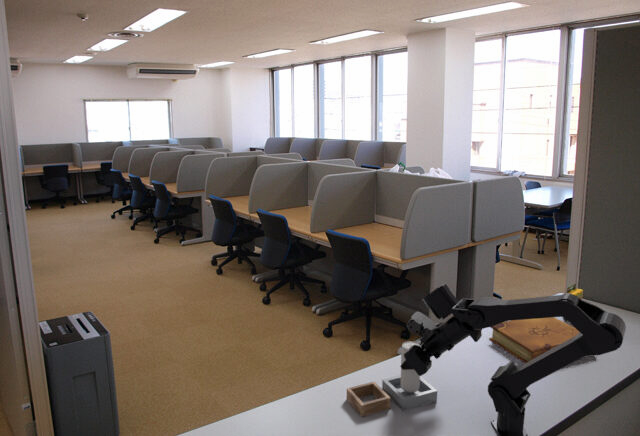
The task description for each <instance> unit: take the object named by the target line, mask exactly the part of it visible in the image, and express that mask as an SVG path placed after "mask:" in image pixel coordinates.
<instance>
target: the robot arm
mask: <svg viewBox="0 0 640 436" xmlns="http://www.w3.org/2000/svg"><path fill="white" fill-rule="evenodd" d="M421 300H422V302H424V304H425V305H426V307H427V308H428V309H429V310H430V311H431V313H432V314H433V315H434V316H435V318H436V319H437V320H440V319H442V320H445V319H446V318H448V317H449V316H451V315H452V316H451V317H449V318H448V319H447V320H445V321H440V322H434V321H433V320H432V319H431V318H430V317H428V316H427V315H425V314H424V313H422V312H420V311H417V310H416V311H415V312H414V313H413V314H412V316H411V317H410V319H409V320H408V321H407V324H406V328H407V329H408V331H409V332H411V333H412V334H413V335H415V336H419V337H420V338H419V341H420V343H419V344H420V346H418V345H413V346H411V347H410V348H409V349H408V350H407V351H406V352H405V353H404V357H405V359H406V360H405V361H404V362H403V364H402V365H401V364H400V366H399V367H400V369H401V368H402V369H403V370H410V369H414V370H415V371H416V373H417V374H418V375H419V376H421V377H422V376H424V375H425V374H426V373H428V371H429V370H430V369H431V367H432V363H433V362H432V361H433V360H432V359H431V358H432V357H434V359H436V360H437V359H439V358H440V357H441V356H442V355H443V354H444V353H445V352H447V351H448V352H450V351H452V350H453V349H454V347H455V346H456V345H457V344H459V343H460V342H462V341H464V340H466V339H467V338H468V337H471V338H472V340H473V341H474V342H475V343H477V342H478V341H480V339H481V338H482V335H483V334H482V331H483V329H487V328H490V327H492V326H495V325H497V324H500V323H502V322H506V321H511V320H524V319H538V318H551V317H555V318H562V319H563V318H565V319H566V320H565V319H564V320H565V321H568V322H569V323H570V324H571V326H572V327H574V328H576V329H577V330H578V331H579V333H578V334H577V335H576V336H574V337H573V338H571V339H569V340H567V341H565V342H563V343H562V344H560V345H558V346H556V347H554V348H552V349H551V350H549V351H547V352H545V353H543V354H542V355H540V356H538V357H536V358H534V359H532V360H531V361H529V362H527V363H523V364H515V363H514V361H513V359H511V360H510V361H509V362H508V363H506V364H505V365H500V366H499V367H498V368H497V369H496V371H495V372H494V373H493V375H492V376H491V378H490V380H491V381H490V382H489V383H488V385H487V393H488V396H489V397H490V398H491V400H492V402H493V406H494V409H495V412H496V413H497V415H496V416H497V418H496V419H490V423H491V425H492V427H493V428H494V430H495V432H496V433H497V434H498V436H530V435H529V433H528V432H527V430H526V428H525V426H524V425H525V415H526V407H525V406H526V404H527V403H528V401H529V399H530V397H531V393H530V391H528V387H530V386H531V385H533V384H535V383H537V382H538V381H540V380H542V379H544V378H547V377H548V376H551V375H552V374H555V373H556V372H558V371H560V370H561V369H564V368H566V367H568V366H569V365H572V364H574V363H575V362H577V361H579V360H582V359H583V358H586V357H594V356H602V355H604V354H609V353H612V352H615V351H617V350H618V349H620V348H621V346H622V345H623V342H624V337H625V334H626V332H627V325H626V323H625V321H624V320H623V318H622V317H620V316H619V315H618V314H616V313H612V312H608V311H605V310H604V309H603V308H602V307H600V306H597V305H596V304H592V303H591V302H588V301H585V300H583V299H582V300H581V299H580V298H578V297H577V296H575V295H573V294H570V293H563V294H558V295H557V294H556V295H548V296H537V297H527V298H518V299H502V298H500V297H495V296H493V297H492V296H491V297H490V296H480V297H477V298H475V299H474V298H461V299H460V300H458V298H456V296H455V295H454V294H453V292H452V291H451V290H450V287H449V286H448V285H447V284H446V283H443V284H442V285H440V286H439V287H436V288H435V289H434V290H432V291H431V292H430V293H429V294H427V295H426V296H424V297H423V298H422V299H421Z"/></svg>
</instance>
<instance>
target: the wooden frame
mask: <svg viewBox="0 0 640 436" xmlns="http://www.w3.org/2000/svg"><path fill="white" fill-rule="evenodd" d="M371 395H374V397H375V398H376V399H372V400H368V401H365V402H363V401H362V400H361V399H360V398H363V397H367V396H371ZM346 400H347V401H348V402H349V404H350V405H351V406H352V407H353V409H355V411H356V412H357V413H358V414H359V416H360V417H366V416H369V415H372V414H377V413H380V412H383V411H387V410H390V409H391V401H392V399H391V398H390V397H389V396H388V395H387V394H386V393H385V392H384V391H383V390H382V387H380V385H379V384H378V383H376V381H372V382H371V381H370V382H367V383H363V384H360V385H359V384H358V385H355V386H352V387H348V388H346Z"/></svg>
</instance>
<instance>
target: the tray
mask: <svg viewBox="0 0 640 436" xmlns="http://www.w3.org/2000/svg"><path fill="white" fill-rule="evenodd" d="M381 380H382V381H381V382H382V383H381V385H382V387H381V389H382V390H383V391H384V392H385V393H386V394H387V395H388V396H389V397H390V398H391V401H393V402H394V403H395V405H397V407H399V408H400V409H401V411H403V412H404V411H409V410H411V409H414V408H415V409H416V408H418V407H421V406H425V405H428V404H429V405H430V404H432V403H436V402H437V401H438V390H437V389H436V388H435V387H433V386H432V384H430V383H429V382H428V381H426V380H425V379H424V378H423V377H422V376H420V384H419V390H418V391H416V392H414V393H408V392H405V391H404V390H403V389H402V388H401V386H400V385H401V374H399V375H395V376H392V377H388V378H384V379H381Z"/></svg>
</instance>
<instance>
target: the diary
mask: <svg viewBox="0 0 640 436" xmlns="http://www.w3.org/2000/svg"><path fill="white" fill-rule="evenodd" d="M489 328H490V329H492V335H491V336H492V337H489V338H488V339H489V341H491V342H492V343H493V344H496V345H497V346H498V347H500V348H501V349H503V350H504V351H506V352H507V353H509V354H510V353H511V355H512V356H513V355H514V356H513V357H515V358H516V357H517V358H516V359H518V360H519V359H520V360H519V361H521V360H522V361H523V363H524V362H525V363H527V362H529V361H531V360H532V359H534V358H536V357H538V356H540V355H542V354H543V353H545V352H547V351H549V350H551V349H552V348H554V347H556V346H558V345H560V344H562V343H563V342H565V341H567V340H569V339H571V338H573V337H574V336H576V335H577V334H578V333H579V331H578V330H577V329H576V328H575V327H574V326H573V325H570V324H569V323H566V322H564V321H562V320H561V319H558V317H551V318H538V319H524V320H511V321H506V322H502V323H500V324H497V325H495V326H492V327H489ZM522 361H521V362H522ZM525 363H524V364H525Z"/></svg>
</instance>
